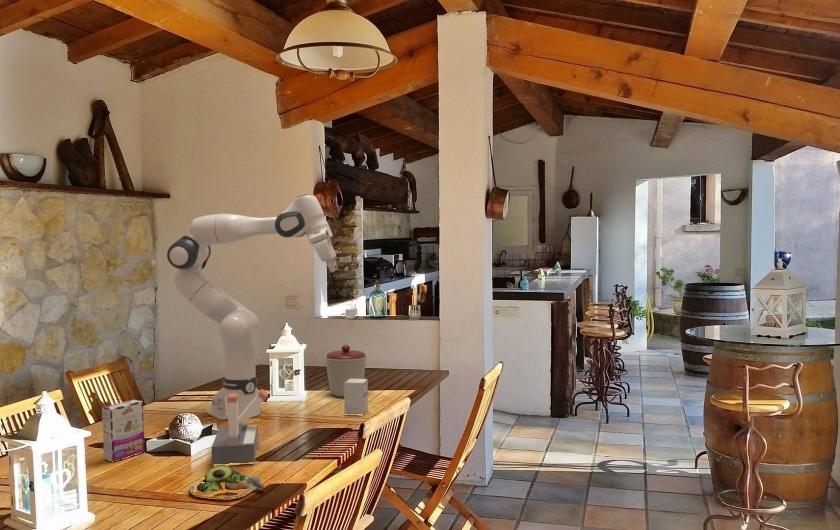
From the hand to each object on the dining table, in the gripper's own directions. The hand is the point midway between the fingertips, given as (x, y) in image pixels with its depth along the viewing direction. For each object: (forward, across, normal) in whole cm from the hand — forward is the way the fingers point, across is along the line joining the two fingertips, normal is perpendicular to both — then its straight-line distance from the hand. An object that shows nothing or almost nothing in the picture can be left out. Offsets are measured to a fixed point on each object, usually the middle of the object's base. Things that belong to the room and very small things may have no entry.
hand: (334, 271), depth 252 cm
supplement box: (+53, -5, -14) cm, 55 cm away
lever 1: (+34, +48, -41) cm, 72 cm away
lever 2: (+34, +34, -43) cm, 64 cm away
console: (+40, +41, -45) cm, 73 cm away
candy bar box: (+28, +42, -77) cm, 92 cm away
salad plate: (+43, +70, -42) cm, 92 cm away
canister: (+51, -36, -20) cm, 65 cm away
